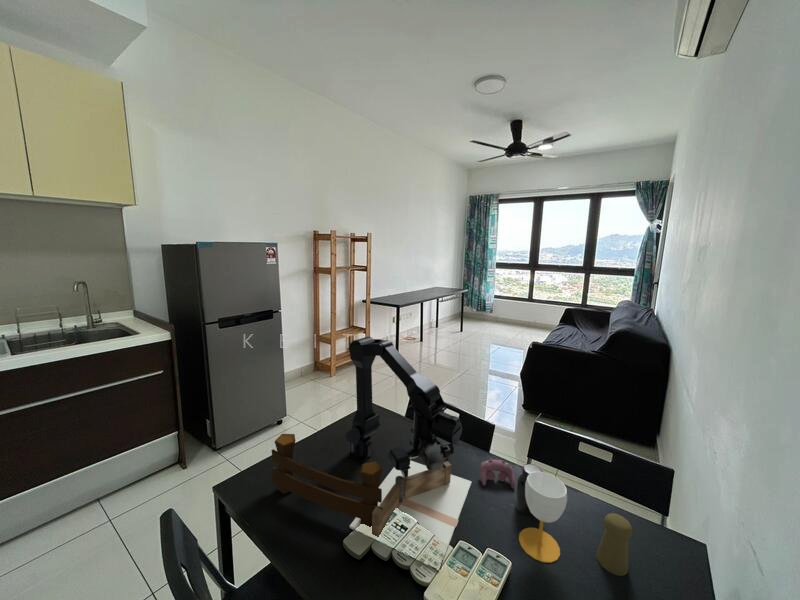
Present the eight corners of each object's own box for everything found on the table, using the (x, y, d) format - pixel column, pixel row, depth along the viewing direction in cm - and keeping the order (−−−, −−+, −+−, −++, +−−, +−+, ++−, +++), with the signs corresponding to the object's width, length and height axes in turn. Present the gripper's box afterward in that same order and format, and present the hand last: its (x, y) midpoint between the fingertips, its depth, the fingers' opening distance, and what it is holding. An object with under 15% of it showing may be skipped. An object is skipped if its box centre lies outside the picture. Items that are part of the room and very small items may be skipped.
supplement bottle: (541, 504, 88) (546, 464, 86) (543, 523, 82) (549, 481, 80) (514, 497, 90) (519, 458, 88) (515, 515, 84) (519, 474, 82)
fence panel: (405, 499, 87) (406, 479, 86) (402, 494, 88) (403, 475, 87) (450, 483, 94) (451, 464, 93) (446, 479, 95) (447, 461, 94)
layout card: (349, 527, 78) (349, 525, 78) (401, 458, 105) (401, 457, 105) (440, 571, 69) (440, 569, 69) (472, 483, 95) (472, 481, 95)
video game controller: (512, 485, 97) (511, 460, 99) (516, 489, 93) (515, 462, 95) (479, 482, 98) (479, 457, 100) (481, 486, 93) (481, 459, 96)
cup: (555, 532, 79) (562, 474, 77) (564, 567, 71) (574, 503, 68) (516, 524, 81) (522, 467, 79) (521, 557, 73) (528, 494, 70)
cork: (590, 550, 75) (596, 508, 73) (614, 549, 76) (621, 508, 74) (608, 576, 69) (616, 532, 67) (635, 575, 70) (643, 530, 68)
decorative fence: (269, 490, 89) (268, 440, 86) (284, 476, 94) (283, 429, 92) (378, 537, 76) (380, 480, 73) (389, 518, 81) (391, 465, 79)
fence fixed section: (371, 535, 76) (371, 511, 75) (396, 495, 88) (397, 474, 87) (379, 538, 75) (379, 514, 74) (404, 498, 88) (405, 477, 87)
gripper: (407, 454, 78) (404, 509, 81) (468, 436, 86) (463, 487, 89) (388, 429, 88) (385, 479, 91) (445, 415, 96) (441, 461, 99)
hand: (419, 477), depth 92 cm, fingers open, 9 cm apart
